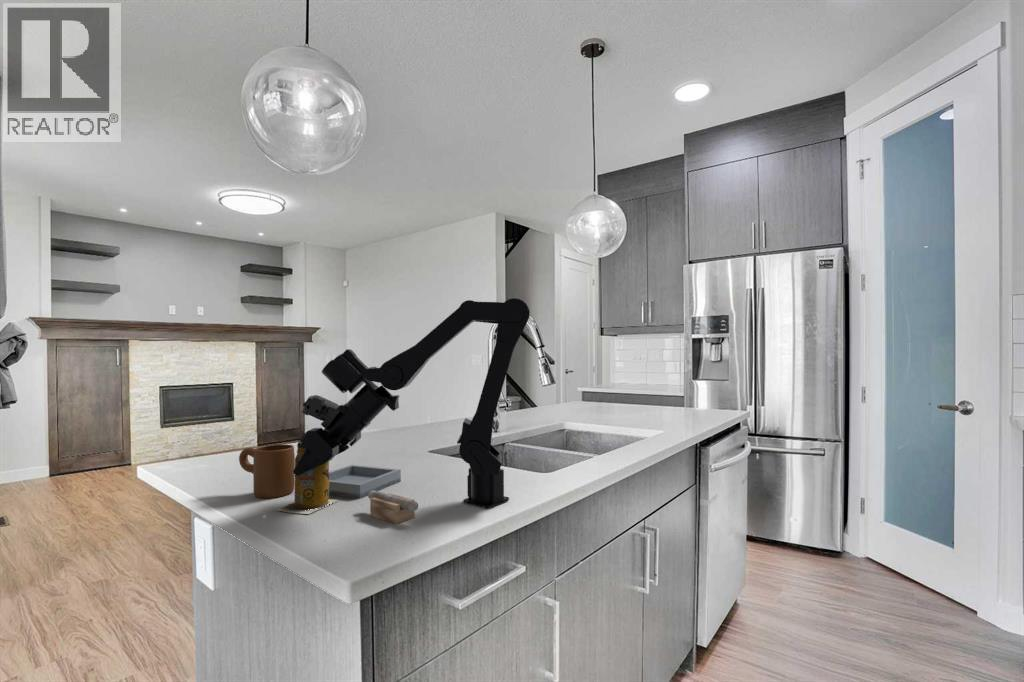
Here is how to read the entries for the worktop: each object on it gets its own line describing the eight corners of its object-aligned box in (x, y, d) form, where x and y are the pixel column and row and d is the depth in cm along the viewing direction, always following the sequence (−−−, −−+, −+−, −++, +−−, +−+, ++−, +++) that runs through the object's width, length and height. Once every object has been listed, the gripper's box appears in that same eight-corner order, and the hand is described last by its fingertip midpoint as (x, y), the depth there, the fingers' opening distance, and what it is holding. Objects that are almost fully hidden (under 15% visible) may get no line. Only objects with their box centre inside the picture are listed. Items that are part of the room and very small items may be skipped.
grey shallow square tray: (400, 481, 109) (400, 469, 109) (360, 498, 96) (360, 485, 96) (351, 475, 114) (351, 464, 114) (307, 491, 101) (307, 478, 101)
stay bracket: (425, 520, 83) (425, 499, 83) (407, 527, 80) (407, 505, 80) (378, 506, 91) (378, 487, 91) (360, 512, 88) (360, 492, 88)
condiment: (338, 501, 95) (338, 438, 95) (308, 515, 87) (308, 447, 87) (307, 498, 97) (307, 437, 97) (275, 511, 89) (275, 445, 89)
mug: (225, 496, 98) (225, 449, 98) (253, 486, 106) (253, 442, 106) (277, 500, 96) (277, 451, 96) (302, 489, 103) (302, 444, 103)
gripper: (345, 378, 102) (292, 431, 102) (311, 384, 84) (246, 449, 83) (383, 415, 102) (330, 469, 102) (358, 429, 84) (292, 495, 83)
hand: (302, 469), depth 93 cm, fingers closed on condiment, 6 cm apart
